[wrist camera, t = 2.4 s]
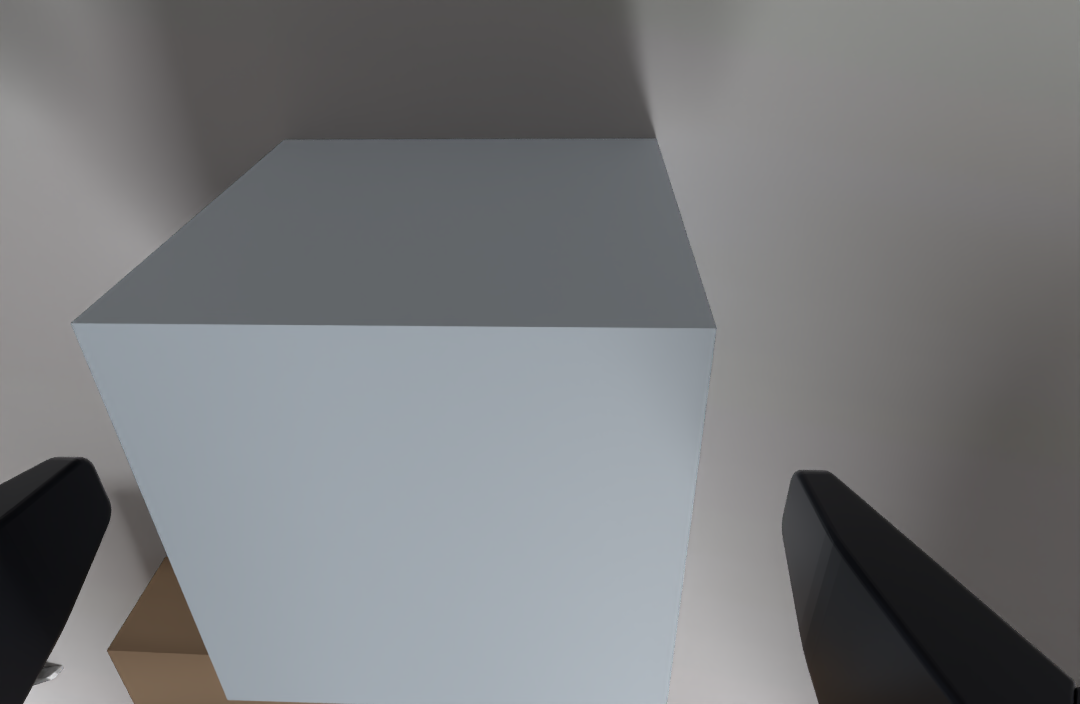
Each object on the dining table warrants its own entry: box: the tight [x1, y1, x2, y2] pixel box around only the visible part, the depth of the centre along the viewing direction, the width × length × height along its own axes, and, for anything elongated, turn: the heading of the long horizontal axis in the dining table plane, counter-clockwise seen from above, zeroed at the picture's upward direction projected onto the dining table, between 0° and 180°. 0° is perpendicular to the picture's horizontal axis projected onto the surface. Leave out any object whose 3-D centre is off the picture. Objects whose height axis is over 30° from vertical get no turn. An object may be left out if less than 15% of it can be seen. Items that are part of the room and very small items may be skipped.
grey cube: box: [71, 138, 717, 704], centre depth 11 cm, size 6×6×6 cm
